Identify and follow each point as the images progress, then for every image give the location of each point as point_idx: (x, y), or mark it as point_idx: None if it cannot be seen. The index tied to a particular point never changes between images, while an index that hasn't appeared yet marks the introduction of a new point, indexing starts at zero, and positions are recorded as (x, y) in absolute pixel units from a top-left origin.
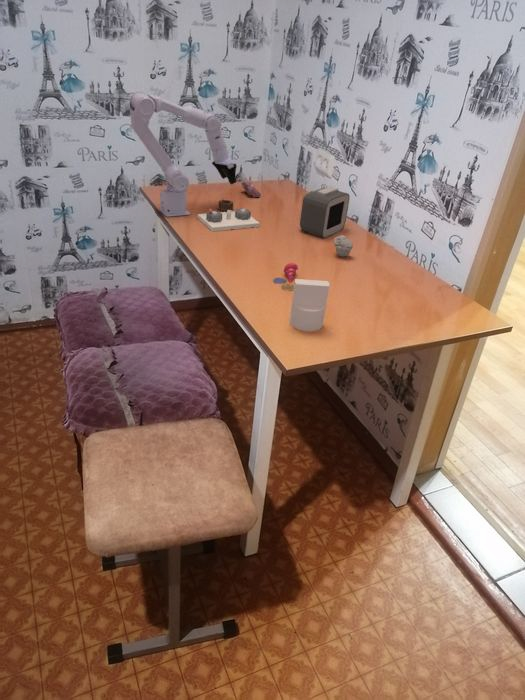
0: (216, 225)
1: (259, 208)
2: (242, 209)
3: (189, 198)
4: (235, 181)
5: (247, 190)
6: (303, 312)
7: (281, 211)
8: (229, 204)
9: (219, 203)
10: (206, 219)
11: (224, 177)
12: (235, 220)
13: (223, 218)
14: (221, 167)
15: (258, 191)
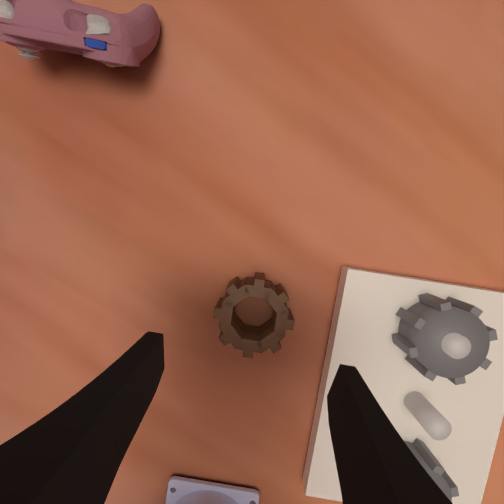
0: (462, 495)
1: (304, 136)
2: (455, 349)
3: (61, 379)
4: (359, 377)
5: (74, 48)
6: None
7: (389, 48)
8: (293, 323)
9: (251, 356)
10: None
11: (160, 362)
12: (448, 384)
13: (402, 421)
14: (95, 479)
15: (141, 9)
